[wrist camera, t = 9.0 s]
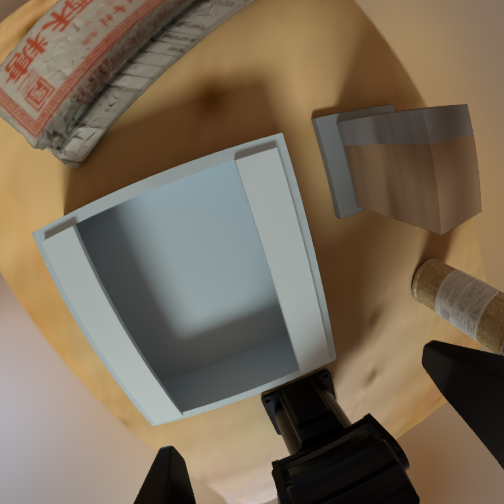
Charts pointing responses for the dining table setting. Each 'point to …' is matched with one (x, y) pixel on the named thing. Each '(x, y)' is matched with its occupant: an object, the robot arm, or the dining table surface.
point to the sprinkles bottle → (462, 302)
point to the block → (415, 165)
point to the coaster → (340, 157)
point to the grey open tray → (196, 281)
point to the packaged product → (96, 65)
